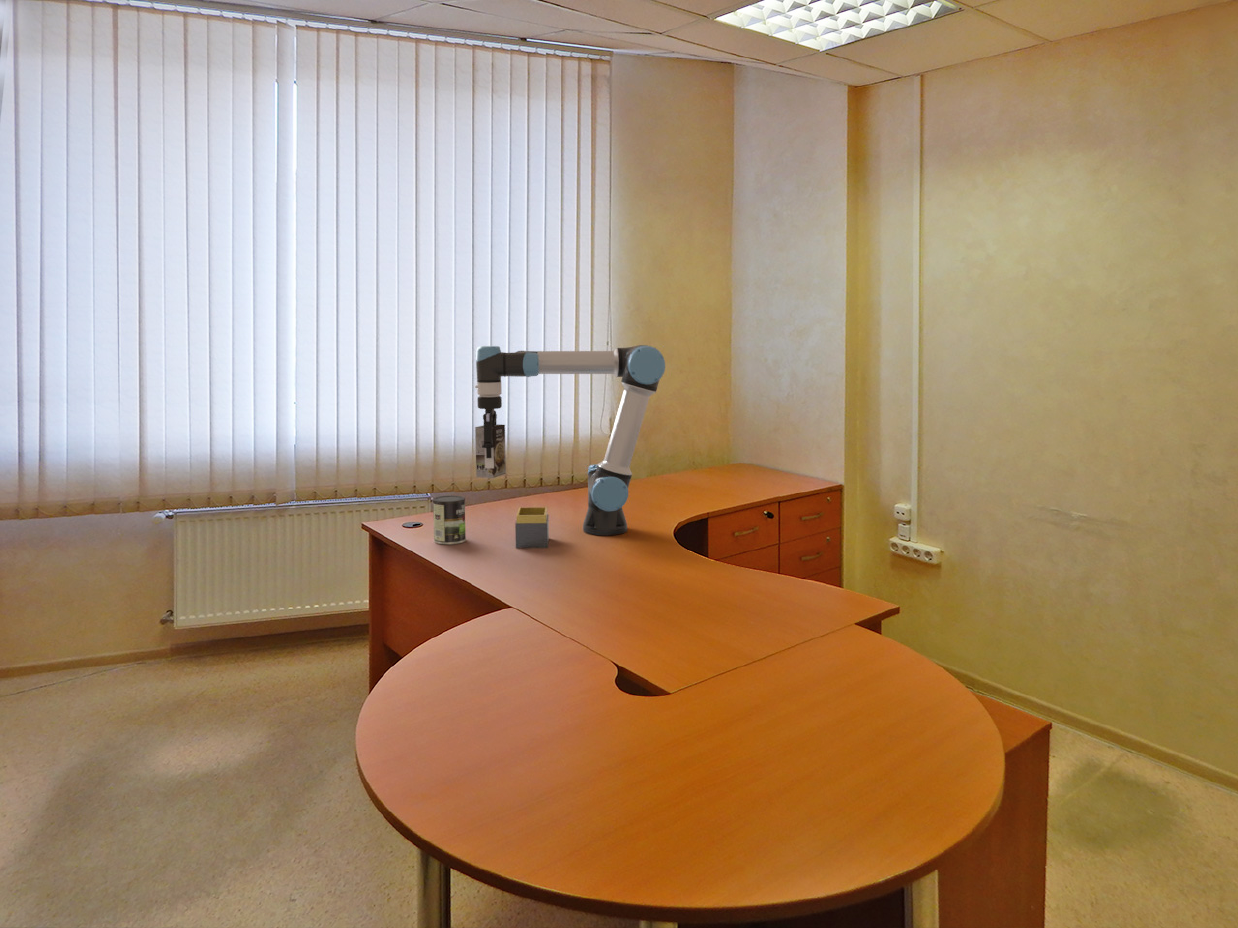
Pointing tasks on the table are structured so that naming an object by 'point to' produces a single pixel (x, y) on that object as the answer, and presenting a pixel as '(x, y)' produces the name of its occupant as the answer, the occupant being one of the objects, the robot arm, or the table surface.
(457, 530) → the coffee can
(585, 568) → the table surface
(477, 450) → the coffee box
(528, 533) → the grey yellow open box
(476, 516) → the table surface
